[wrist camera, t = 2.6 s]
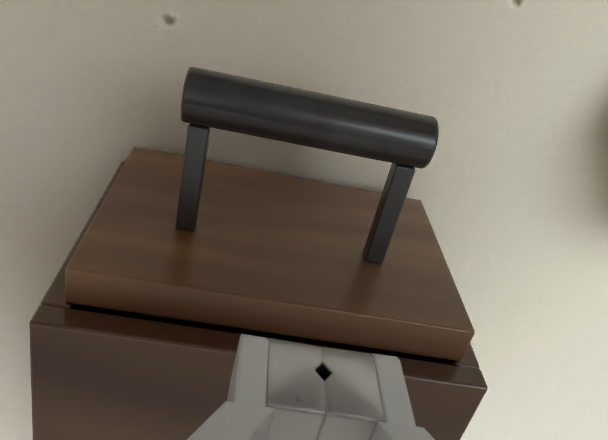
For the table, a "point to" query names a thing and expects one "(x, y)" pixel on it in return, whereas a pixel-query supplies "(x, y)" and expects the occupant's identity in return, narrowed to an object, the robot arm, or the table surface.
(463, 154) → the table surface
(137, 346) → the cabinet
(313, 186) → the drawer
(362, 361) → the robot arm
